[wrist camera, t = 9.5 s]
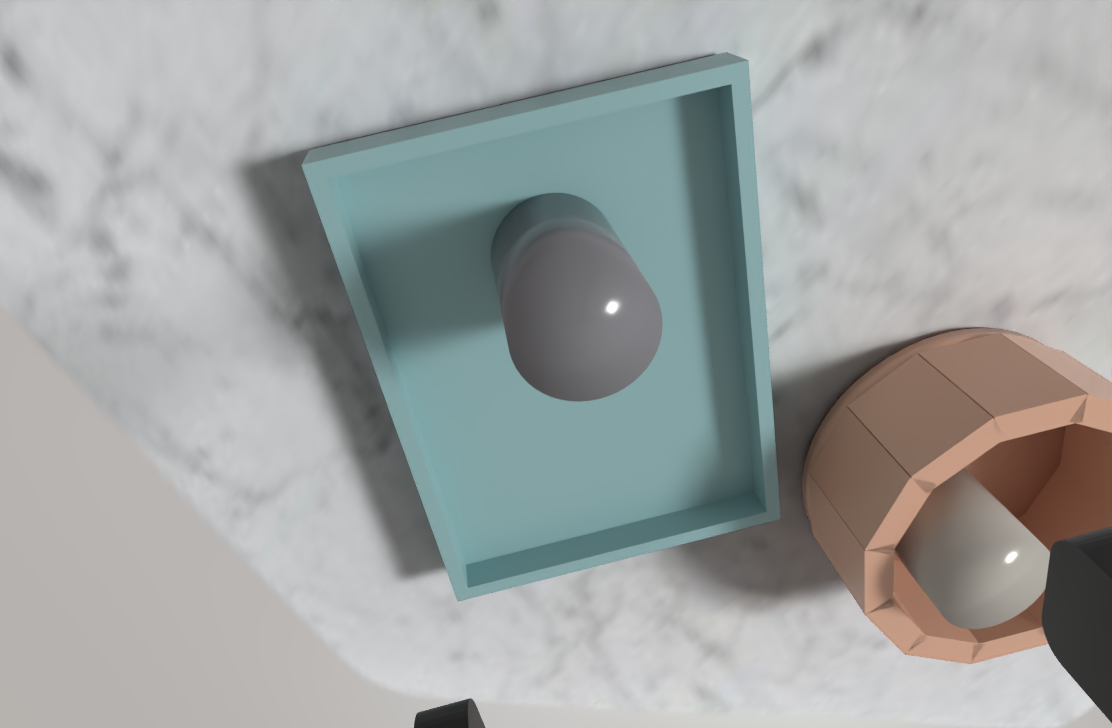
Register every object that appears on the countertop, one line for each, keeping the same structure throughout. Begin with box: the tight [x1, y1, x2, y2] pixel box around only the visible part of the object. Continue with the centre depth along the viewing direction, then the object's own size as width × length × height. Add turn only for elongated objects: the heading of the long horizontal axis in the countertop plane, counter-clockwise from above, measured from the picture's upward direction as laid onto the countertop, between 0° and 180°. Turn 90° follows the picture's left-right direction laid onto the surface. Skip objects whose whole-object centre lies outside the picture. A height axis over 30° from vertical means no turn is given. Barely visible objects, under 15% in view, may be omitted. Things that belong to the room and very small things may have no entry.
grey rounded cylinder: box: [491, 193, 663, 402], centre depth 22 cm, size 4×4×6 cm
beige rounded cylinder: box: [894, 468, 1050, 629], centre depth 28 cm, size 4×4×6 cm
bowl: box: [802, 328, 1112, 664], centre depth 29 cm, size 11×11×5 cm
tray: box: [301, 52, 781, 601], centre depth 25 cm, size 16×12×2 cm
